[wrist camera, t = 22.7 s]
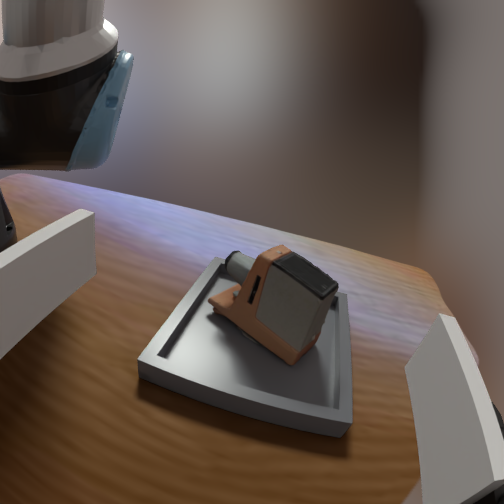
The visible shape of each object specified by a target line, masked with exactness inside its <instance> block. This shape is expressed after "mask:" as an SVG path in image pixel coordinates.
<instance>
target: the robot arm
mask: <svg viewBox="0 0 504 504" xmlns="http://www.w3.org/2000/svg"><path fill="white" fill-rule="evenodd" d="M103 9H104V0H2V23H3V38H4V40H3V42H2V44H1V46H0V170H3V169H4V170H5V169H8V170H9V169H10V170H60V171H70V170H76V169H94V168H97V167H99V166H101V165H102V164H103V163H104V162H105V161H106V160H107V158H108V157H109V154H110V151H111V148H112V145H113V140H114V137H115V133H116V130H117V125H118V121H119V118H120V114H121V110H122V106H123V102H124V99H125V95H126V91H127V87H128V83H129V79H130V75H131V71H132V66H133V60H134V57H133V55H132V54H130V53H127V52H126V51H124V50H122V51H119V52H117V43H118V31H117V30H116V28H115V27H114V26H113V25H112V24H110V23H109V22H108V21H106V20H105V19H104V17H103ZM96 274H97V273H96V256H95V213H93V212H90V211H87V210H83V209H79V210H77V211H75V212H73V213H71V214H69V215H67V216H65V217H63V218H61V219H59V220H57V221H55V222H53V223H51V224H50V225H48V226H46V227H44V228H42V229H40V230H39V231H37V232H35V233H33V234H31V235H30V236H28V237H26V238H24V239H23V240H21V241H19V242H17V236H16V228H15V224H14V221H13V219H12V217H11V214H10V212H9V209H8V207H7V204H6V202H5V199H4V197H3V194H2V191H1V188H0V359H1V358H2V357H3V356H4V355H5V354H6V353H7V352H8V351H9V350H10V349H12V348H13V347H14V346H15V345H16V344H17V343H18V342H19V341H20V340H21V339H22V338H23V337H24V336H25V335H26V334H27V333H29V332H30V331H31V330H32V329H33V328H34V327H35V326H36V325H37V324H38V323H39V322H41V321H42V320H43V319H44V318H45V317H46V316H47V315H48V314H50V313H51V312H52V311H53V310H54V309H55V308H56V307H58V306H59V305H60V304H61V303H62V302H63V301H64V300H66V299H67V298H68V297H69V296H70V295H72V294H73V293H74V292H75V291H76V290H77V289H79V288H80V287H81V286H82V285H83V284H85V283H86V282H87V281H88V280H89V279H91V278H92V277H93V276H94V275H96ZM405 372H406V377H407V382H408V387H409V392H410V398H411V404H412V409H413V416H414V422H415V429H416V436H417V444H418V452H419V461H420V471H421V482H422V498H423V504H504V423H503V420H502V417H501V414H500V413H499V411H498V410H497V408H496V407H495V405H494V404H493V402H491V400H490V397H489V394H488V392H487V389H486V387H485V384H484V382H483V379H482V376H481V374H480V372H479V369H478V367H477V364H476V362H475V360H474V357H473V355H472V353H471V351H470V348H469V346H468V344H467V342H466V340H465V338H464V336H463V333H462V331H461V329H460V327H459V325H458V323H457V321H456V319H455V318H454V317H451V316H447V315H444V314H440V313H439V314H438V316H437V318H436V319H435V321H434V323H433V324H432V326H431V328H430V329H429V331H428V333H427V334H426V336H425V337H424V339H423V341H422V342H421V344H420V345H419V347H418V348H417V350H416V351H415V353H414V354H413V356H412V357H411V359H410V360H409V362H408V363H407V365H406V366H405Z"/></svg>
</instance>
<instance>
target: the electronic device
mask: <svg viewBox="0 0 504 504" xmlns="http://www.w3.org/2000/svg"><path fill="white" fill-rule="evenodd" d="M225 269H226V271H227V272H228V273H229V274H230V275H231V276H232V277H233V278H234V279H235V280H236V282H237V283H238V284H236V285H235V286H233V287H231V288H229V289H227V290H225V291H223V292H221V293H219V294H217V295H214V296H212V297H210V298H209V299H208V303H209V304H211V305H212V306H213V311H214V313H215V314H221V315H223V316H225V317H227V318H228V319H230V320H231V321H232V322H233V323H235V324H236V327H238V329H239V330H241V331H242V334H243V335H244V336H246V337H247V338H249V339H250V340H252V341H253V342H255V343H256V344H258V345H262V346H264V347H266V348H267V349H268V350H270V351H272V352H273V353H274V354H275V355H277V356H278V357H279V358H281V359H282V360H284V361H285V362H286V363H287V364H288V365H295V364H296V363H297V361H299V359H300V358H301V357H302V356H303V355H305V354H306V353H307V352H308V351H309V350H310V349H311V348H312V346H313V345H315V343H316V342H317V340H318V338H319V336H320V334H321V329H322V326H323V324H324V323H325V319H326V316H327V314H328V311H329V308H330V305H331V303H332V300H333V298H334V295H335V294H336V293H337V290H338V283H337V282H336V281H334V280H333V279H332V278H331V277H330V276H329V275H328V274H325V273H324V272H323V271H321V270H320V269H319V268H318V267H316V266H314V265H313V264H312V263H311V262H309V261H308V260H306V259H305V258H303V257H301V256H300V255H298V254H296V253H295V252H292V251H291V250H290V249H288V248H287V247H285V246H284V245H279V246H276V247H273V248H271V249H269V250H267V251H265V252H263V253H261V254H260V255H258V257H257V258H256V259H254V258H251V257H249V256H246V255H244V254H242V253H241V252H240V251H233V252H232V253H231V254H230V255H229V256H228V257H227V258H226V260H225Z"/></svg>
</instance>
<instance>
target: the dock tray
mask: <svg viewBox="0 0 504 504" xmlns="http://www.w3.org/2000/svg"><path fill="white" fill-rule="evenodd" d="M236 284H238V283H237V282H236V280H235V279H234V278H233V277H232V276H231V275H230V274H229V273H228V272H227V271H226V269H225V259H222V258H218V257H215V258H214V259H213V260H212V261H211V263H210V264H209V265H208V267H207V268H206V269H205V271H204V272H203V273H202V274H201V276H200V277H199V278H198V280H197V281H196V282H195V283H194V285H193V286H192V287H191V289H190V290H189V291H188V293H187V294H186V295H185V297H184V298H183V299H182V300H181V302H180V303H179V304H178V306H177V307H176V308H175V310H174V311H173V312H172V314H171V315H170V316H169V318H168V319H167V320H166V322H165V323H164V324H163V326H162V327H161V328H160V330H159V331H158V332H157V334H156V335H155V336H154V338H153V339H152V340H151V342H150V343H149V344H148V346H147V347H146V348H145V350H144V351H143V352H142V354H141V355H140V356H139V358H138V359H137V360H138V373H139V377H140V378H142V379H144V380H147V381H149V382H151V383H154V384H156V385H158V386H161V387H163V388H166V389H168V390H171V391H173V392H176V393H179V394H181V395H184V396H186V397H189V398H192V399H195V400H197V401H200V402H203V403H206V404H209V405H212V406H215V407H218V408H221V409H224V410H227V411H230V412H234V413H237V414H240V415H244V416H247V417H250V418H254V419H258V420H261V421H265V422H269V423H273V424H277V425H281V426H285V427H289V428H293V429H298V430H302V431H307V432H312V433H317V434H322V435H327V436H333V437H338V438H341V437H342V435H343V434H344V433H345V432H346V431H347V429H348V428H349V427H350V426H351V425H352V368H351V345H350V329H349V314H348V302H347V294H344V293H340V292H337V293H336V294H335V295H334V298H333V300H332V303H331V305H330V308H329V311H328V314H327V316H326V319H325V323H324V324H323V326H322V329H321V334H320V336H319V338H318V340H317V342H316V343H315V345H313V346H312V348H311V349H310V350H309V351H308V352H307V353H306V354H305V355H303V356H302V357H301V358H300V359H299V361H297V363H296V364H295V365H288V364H287V363H286V362H285V361H284V360H282V359H281V358H279V357H278V356H277V355H275V354H274V353H273V352H272V351H270V350H268V349H267V348H266V347H264V346H262V345H258V344H256V343H255V342H253V341H252V340H250V339H249V338H247V337H246V336H244V335H243V334H242V331H241V330H239V329H238V327H236V324H235V323H233V322H232V321H231V320H230V319H228V318H227V317H225V316H223V315H221V314H215V313H214V311H213V306H212V305H211V304H209V303H208V299H209V298H210V297H212V296H214V295H217V294H219V293H221V292H223V291H225V290H227V289H229V288H231V287H233V286H235V285H236Z"/></svg>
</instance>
